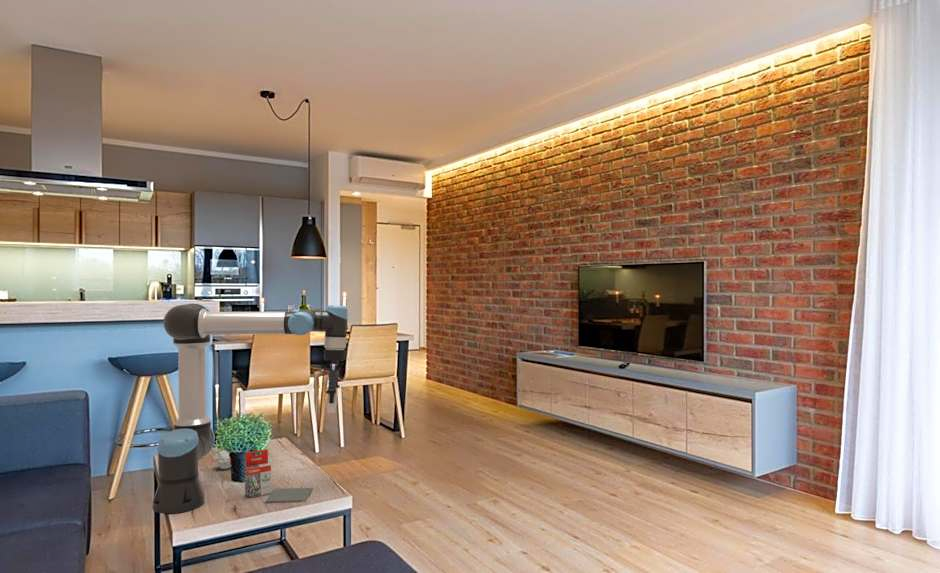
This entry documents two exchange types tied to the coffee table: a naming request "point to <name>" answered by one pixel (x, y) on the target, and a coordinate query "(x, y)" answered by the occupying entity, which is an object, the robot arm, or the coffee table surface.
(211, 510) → the coffee table surface
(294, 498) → the mat
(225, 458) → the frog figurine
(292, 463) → the coffee table surface
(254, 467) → the ink box
